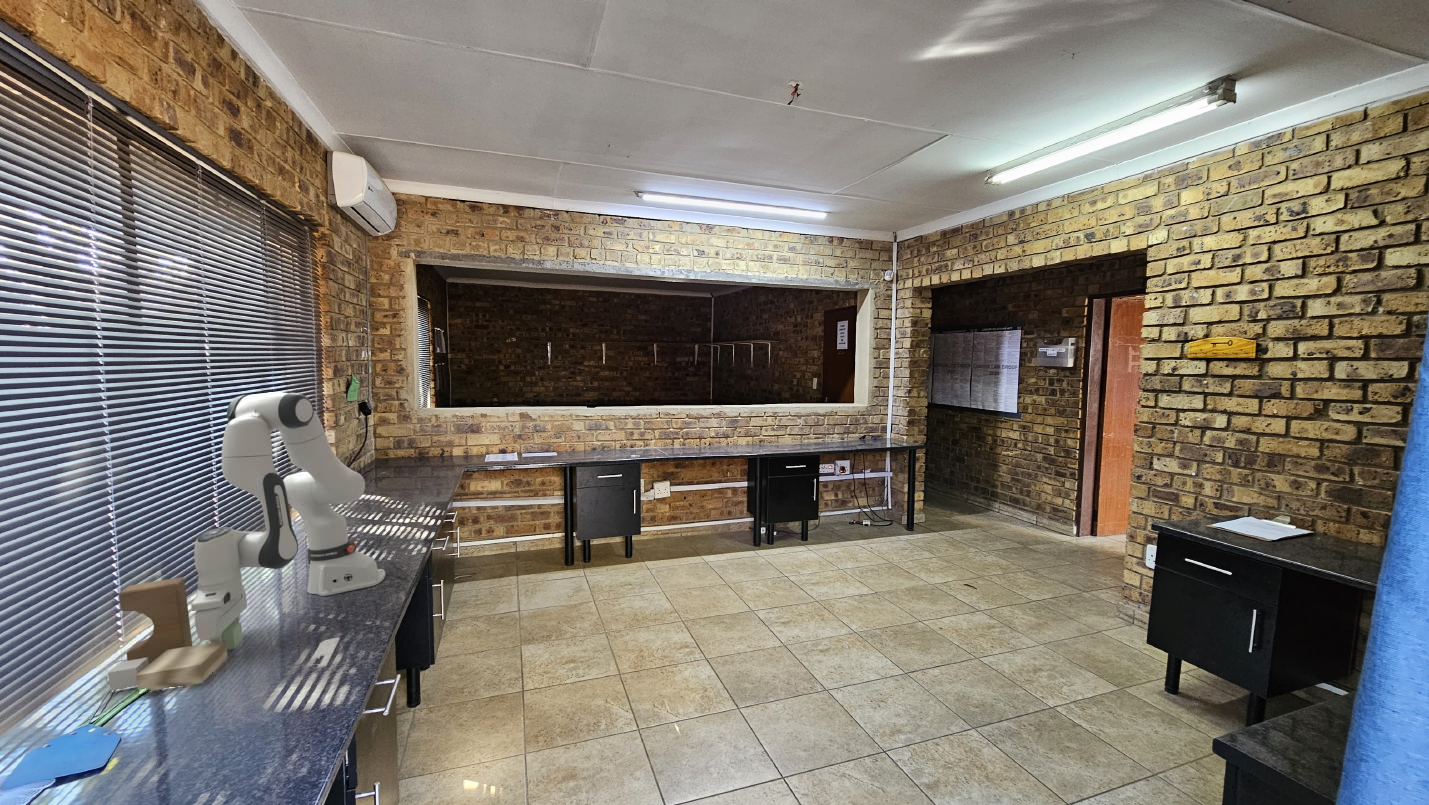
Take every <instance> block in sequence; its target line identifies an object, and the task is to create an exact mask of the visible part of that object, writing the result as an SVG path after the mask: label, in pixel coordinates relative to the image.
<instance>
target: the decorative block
mask: <svg viewBox="0 0 1429 805" xmlns="http://www.w3.org/2000/svg"><path fill="white" fill-rule="evenodd" d="M185 580H186V579H185V577H182V576H181V577H175V578H169V579H162V580H156V581H149V582H142V583H136V584H130V585H128V586H127V587H125V588H124V589H123V590H121V591H120V592H119V593H118V597H119V598H118V600H119V606H120V610H121V611H122V612H136V613H139V614H143V615H145V616H146V617H147V618H149V619H150V620H151V622H152V624H153V630H152V634H151V636H149V637H148V638H145V639H143V640H141V641H136V643H135V644H133V645H132V646H131V647H130V649H128V650H127V652H126V658H127V659H126V661H130V660H135V659H141V658H147V657H148V661H149V664H151V663H152V662H153V661H154V660H155V659H157V658H158V657H159V656H160V655H161V654H163V653H164V652H165V651H166V650H170V649H176V648H183V647H189V646H193V639H192V632H191V622H190V614H189V607H188V600H187V599H188V597H187V589H186V582H185Z"/></svg>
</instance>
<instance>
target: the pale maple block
mask: <svg viewBox="0 0 1429 805" xmlns="http://www.w3.org/2000/svg"><path fill="white" fill-rule="evenodd" d="M227 659H228V650H227V649H226V641H221V642H215V643H210V642H209V643H204V644H196V645H192V646H189V647H183V648H176V649H170V650H166V651H165V652H164V653H163V654H161V655H160V656H159V657H158V658H157V659H155V660H154V661H153V662H152V663H151V664H149V665H148V666H147V667H146V668H144V669H143V670H142V671H141V672H140V673H138V674H137V675H136V678H137V686H138V688H137V691H138V690H139V689H145V688H146V689H149V690H152V691H153V690H159V689H164V688H169V687H178V686H185V687H188V686H187V685H191V686H195V685H194V684H197V685H199V684H198V683H202V682H203V681H204V680H205V679H206V678H207V677H208V676H209V675H211V674H212V672H213V673H215V672H216V671H217V670H218V669H219V667H220V666H221V665H222V664H223V663H224V662H226V661H227ZM212 675H213V674H212ZM212 675H211V676H212ZM202 684H203V683H202Z"/></svg>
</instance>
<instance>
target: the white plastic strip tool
mask: <svg viewBox="0 0 1429 805" xmlns="http://www.w3.org/2000/svg"><path fill="white" fill-rule="evenodd" d="M339 641H341V640H340V637H335V638H334V637H333V638H329V639H325V640H323V641H320V642H319V645H318V647H317V648H316V651H315V653H314V654H313V656H312V657H311V661H313V660H315V659H317V660H319V659H321V657H323V659H322V661H321V663H320V664H319V665H318V666H317V667H318V669H322V668H326V667H327V666H328V664H329V662H330V660H331V658H332V656H333V654H334V651H335V650H336V648H337V645H338V644H339Z"/></svg>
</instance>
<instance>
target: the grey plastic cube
mask: <svg viewBox="0 0 1429 805" xmlns="http://www.w3.org/2000/svg"><path fill="white" fill-rule="evenodd" d="M148 665H149V661H148V657H147V658H141V659H135V660H130V661H127V660H125V661H121V662H119V663H118V664H117V665H116V666H115V667H113V668H112V669H111V670H110V671H108V673H107V674H108V682H109V688H110V692H111V691H112V690H117V689H123V688H127V687H132V686H136V685H137V678H136V675H137V674H138V673H140V672H141V671H142V670H143V669H144V668H146V667H147V666H148Z"/></svg>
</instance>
